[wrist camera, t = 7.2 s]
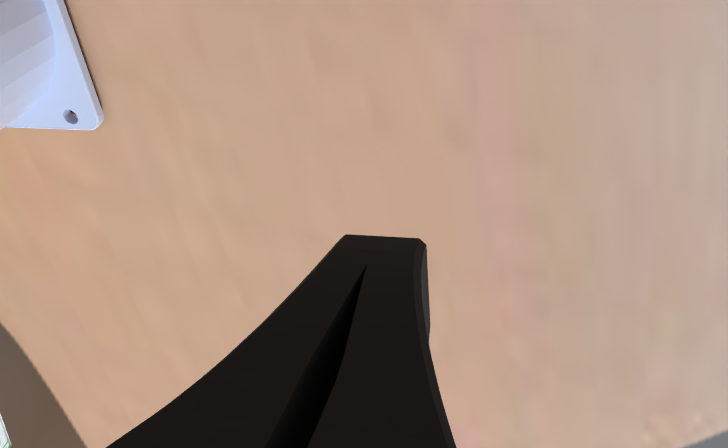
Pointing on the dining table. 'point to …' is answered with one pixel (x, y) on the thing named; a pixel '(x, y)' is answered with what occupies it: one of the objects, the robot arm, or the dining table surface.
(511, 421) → the dining table surface
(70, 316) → the dining table surface
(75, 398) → the dining table surface
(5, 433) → the syrup box
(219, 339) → the dining table surface
